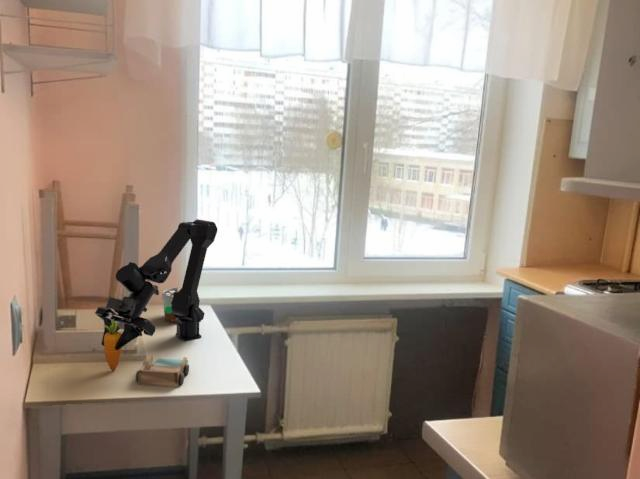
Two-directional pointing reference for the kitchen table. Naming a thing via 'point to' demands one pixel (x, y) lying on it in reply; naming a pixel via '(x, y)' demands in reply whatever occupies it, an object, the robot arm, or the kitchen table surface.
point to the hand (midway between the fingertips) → (109, 347)
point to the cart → (162, 372)
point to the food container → (169, 304)
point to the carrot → (112, 345)
